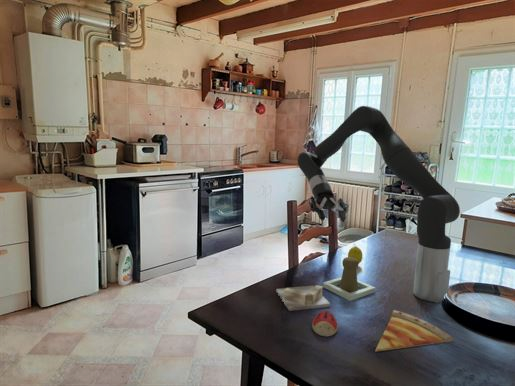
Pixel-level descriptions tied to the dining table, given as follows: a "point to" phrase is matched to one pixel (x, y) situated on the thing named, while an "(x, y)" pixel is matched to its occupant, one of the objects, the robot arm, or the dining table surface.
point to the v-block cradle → (303, 297)
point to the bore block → (349, 296)
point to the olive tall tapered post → (349, 275)
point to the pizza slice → (410, 333)
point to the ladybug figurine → (325, 324)
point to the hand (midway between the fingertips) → (333, 219)
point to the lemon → (355, 253)
